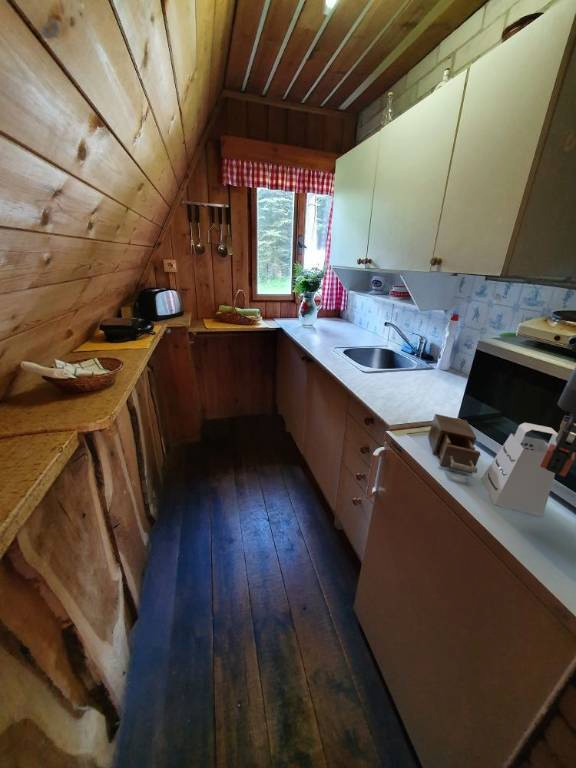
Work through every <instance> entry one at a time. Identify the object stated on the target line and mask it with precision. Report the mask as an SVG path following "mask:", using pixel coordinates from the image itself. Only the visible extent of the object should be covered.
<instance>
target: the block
mask: <svg viewBox="0 0 576 768" xmlns="http://www.w3.org/2000/svg"><path fill="white" fill-rule="evenodd" d="M555 447H556V445H553V444H550V446H549V448H548V450H547V452H546V454H545V456H544V458H543V460H542V463H541V465H540V467H542V468H545V469H546V466H547V464H548V462H549V460H550V458H551V456H552V454H553V452H552V451H553V449H555ZM559 449H560V450H563V451H565V452H568V451H569V450H567V449H564V448H561V447H560V448H559ZM571 456H572V457H571V458H570V459H569V460H568V459H567V461H566V463H565V465H564V467H563V468H562V470H561V472H560V474H558V475H559V476H560V477H561V476H562V477H564V478H565V477H566V476H567V474H568V472H569V470H570V468H571V467H572V465H573V462H574V461H575V458H576V452H575V451H574V452H573V454H572V455H571Z"/></svg>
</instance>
